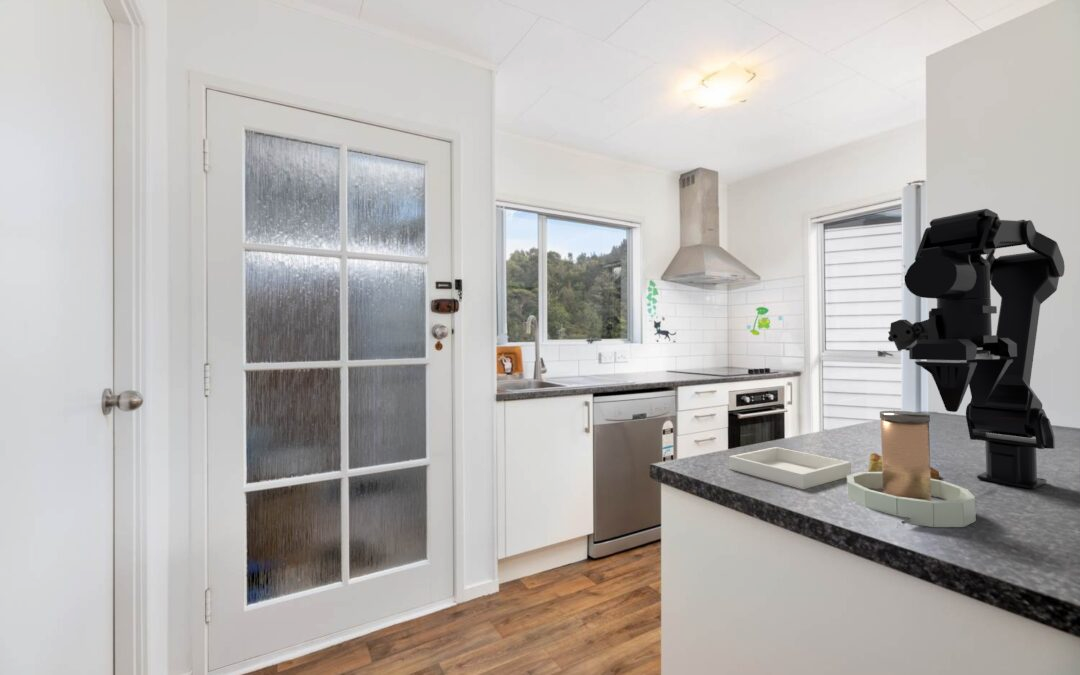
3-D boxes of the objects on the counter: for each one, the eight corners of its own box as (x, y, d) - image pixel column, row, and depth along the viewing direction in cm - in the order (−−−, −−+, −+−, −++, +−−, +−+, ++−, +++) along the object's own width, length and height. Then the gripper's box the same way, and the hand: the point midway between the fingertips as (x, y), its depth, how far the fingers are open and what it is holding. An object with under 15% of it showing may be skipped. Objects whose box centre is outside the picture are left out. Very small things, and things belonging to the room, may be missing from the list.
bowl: (876, 486, 72) (876, 467, 72) (991, 513, 60) (990, 490, 60) (828, 501, 66) (827, 480, 66) (945, 535, 54) (945, 510, 54)
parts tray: (776, 462, 87) (776, 446, 87) (851, 480, 75) (850, 462, 75) (729, 473, 80) (728, 456, 80) (803, 494, 69) (802, 474, 69)
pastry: (938, 479, 76) (937, 456, 76) (941, 490, 71) (940, 465, 71) (868, 470, 82) (868, 449, 82) (866, 480, 76) (866, 457, 76)
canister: (881, 494, 67) (879, 409, 67) (930, 501, 64) (927, 412, 64) (882, 505, 62) (879, 414, 63) (934, 513, 59) (931, 418, 59)
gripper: (925, 306, 77) (927, 398, 77) (866, 303, 68) (869, 407, 68) (1016, 300, 68) (1019, 406, 68) (962, 296, 59) (966, 417, 59)
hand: (965, 408), depth 66 cm, fingers open, 9 cm apart
